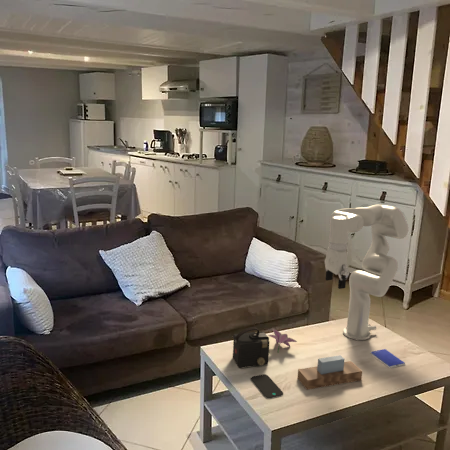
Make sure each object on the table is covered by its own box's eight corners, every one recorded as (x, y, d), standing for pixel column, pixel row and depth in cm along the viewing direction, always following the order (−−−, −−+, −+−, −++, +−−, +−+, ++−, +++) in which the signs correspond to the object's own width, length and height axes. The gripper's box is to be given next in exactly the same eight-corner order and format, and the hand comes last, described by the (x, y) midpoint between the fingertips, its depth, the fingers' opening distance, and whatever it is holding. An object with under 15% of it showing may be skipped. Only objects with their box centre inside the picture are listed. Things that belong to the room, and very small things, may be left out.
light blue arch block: (338, 375, 191) (340, 355, 188) (342, 379, 188) (344, 358, 186) (316, 379, 187) (318, 358, 185) (320, 383, 185) (322, 362, 183)
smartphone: (266, 398, 173) (249, 376, 187) (266, 400, 173) (249, 378, 187) (285, 394, 176) (266, 373, 190) (284, 396, 176) (266, 375, 190)
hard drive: (370, 351, 209) (389, 365, 197) (385, 348, 211) (405, 362, 200) (370, 354, 209) (389, 369, 198) (385, 351, 212) (404, 365, 201)
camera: (271, 366, 196) (273, 333, 192) (239, 370, 192) (240, 336, 189) (262, 353, 206) (263, 321, 203) (231, 357, 202) (232, 324, 199)
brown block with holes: (350, 369, 195) (350, 361, 194) (361, 380, 188) (362, 371, 187) (297, 378, 188) (298, 369, 187) (307, 389, 180) (307, 380, 179)
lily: (298, 356, 207) (301, 333, 209) (279, 352, 200) (282, 329, 203) (279, 353, 216) (282, 331, 219) (260, 349, 210) (263, 327, 212)
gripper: (319, 240, 205) (317, 278, 209) (341, 252, 189) (338, 292, 193) (334, 239, 207) (331, 275, 212) (357, 251, 191) (354, 290, 196)
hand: (335, 284), depth 202 cm, fingers open, 9 cm apart
